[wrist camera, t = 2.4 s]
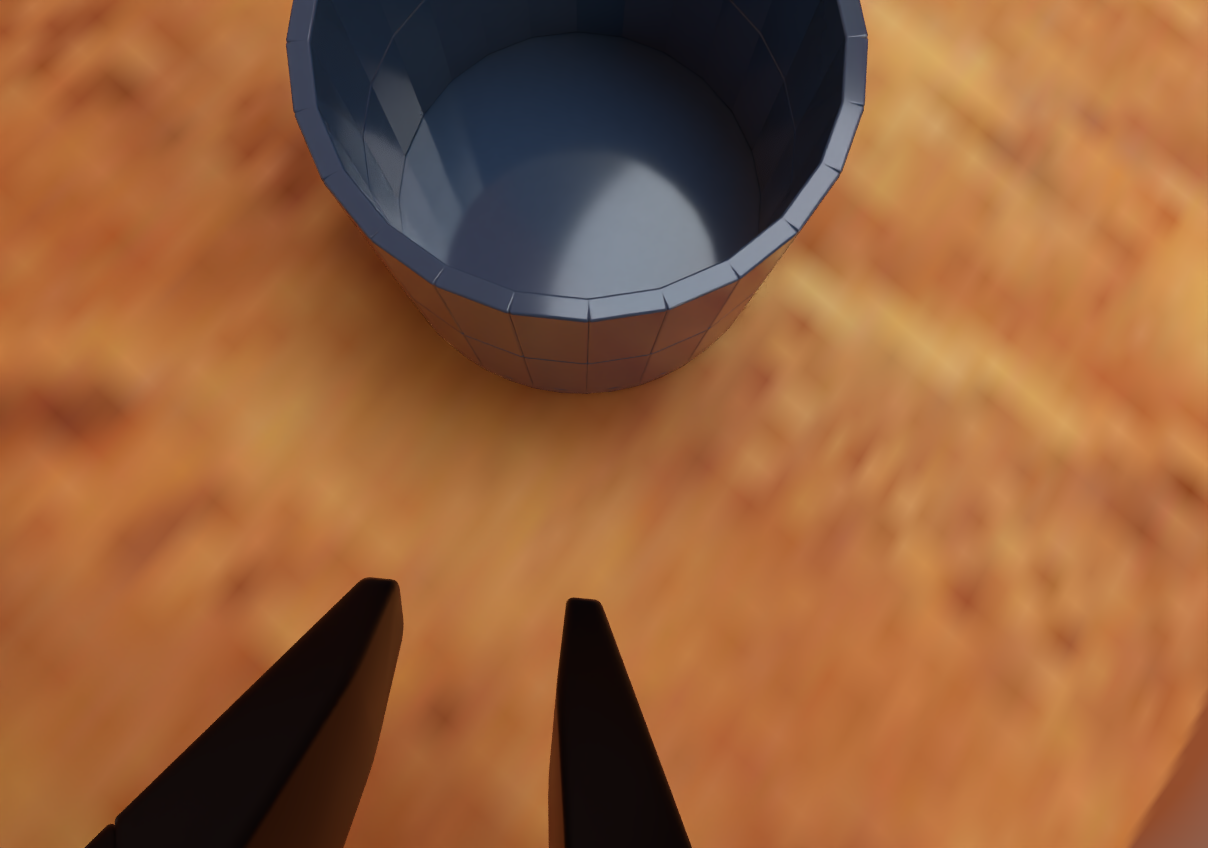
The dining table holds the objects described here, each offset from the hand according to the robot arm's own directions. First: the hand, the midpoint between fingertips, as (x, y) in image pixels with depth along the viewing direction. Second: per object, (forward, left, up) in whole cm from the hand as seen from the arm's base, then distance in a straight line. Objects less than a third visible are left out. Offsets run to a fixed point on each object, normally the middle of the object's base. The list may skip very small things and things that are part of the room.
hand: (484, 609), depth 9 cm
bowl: (+10, -6, -13) cm, 17 cm away
